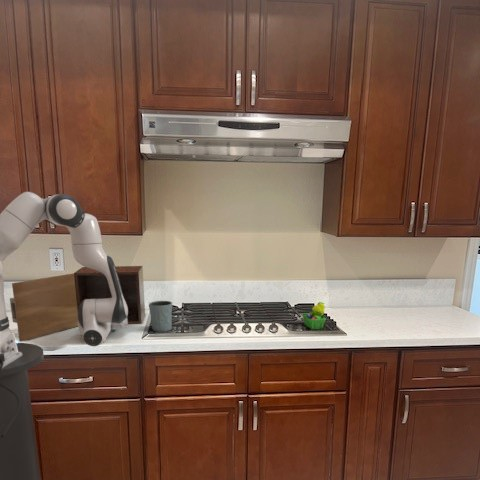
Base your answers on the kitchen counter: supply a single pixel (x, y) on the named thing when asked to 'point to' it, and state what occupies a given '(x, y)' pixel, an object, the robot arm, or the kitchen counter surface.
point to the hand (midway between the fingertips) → (105, 318)
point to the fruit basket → (315, 317)
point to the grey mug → (161, 315)
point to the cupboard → (97, 287)
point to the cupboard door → (44, 306)
